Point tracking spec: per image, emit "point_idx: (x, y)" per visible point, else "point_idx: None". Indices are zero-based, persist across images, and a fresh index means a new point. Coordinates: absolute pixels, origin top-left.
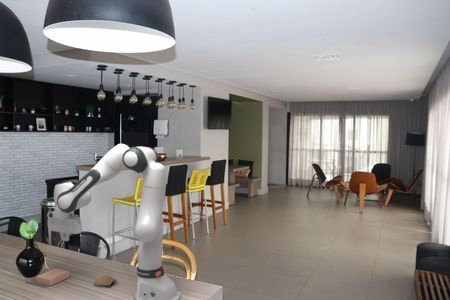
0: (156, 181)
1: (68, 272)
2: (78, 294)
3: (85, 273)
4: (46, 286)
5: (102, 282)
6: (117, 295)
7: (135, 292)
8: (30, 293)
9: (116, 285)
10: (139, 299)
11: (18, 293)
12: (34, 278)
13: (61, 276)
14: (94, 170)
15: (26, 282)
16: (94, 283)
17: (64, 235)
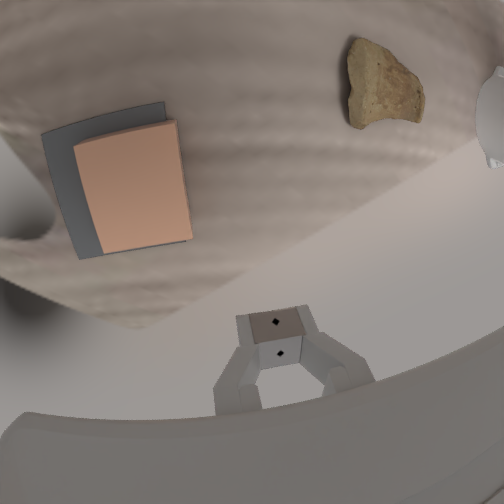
0: None
1: (175, 128)
2: (347, 206)
3: (202, 39)
4: None
5: (385, 113)
6: (448, 154)
7: (489, 144)
8: (188, 290)
9: None
10: (495, 161)
11: (156, 308)
12: (66, 223)
13: (182, 173)
14: None
15: (83, 258)
16: (356, 126)
17: (252, 365)
